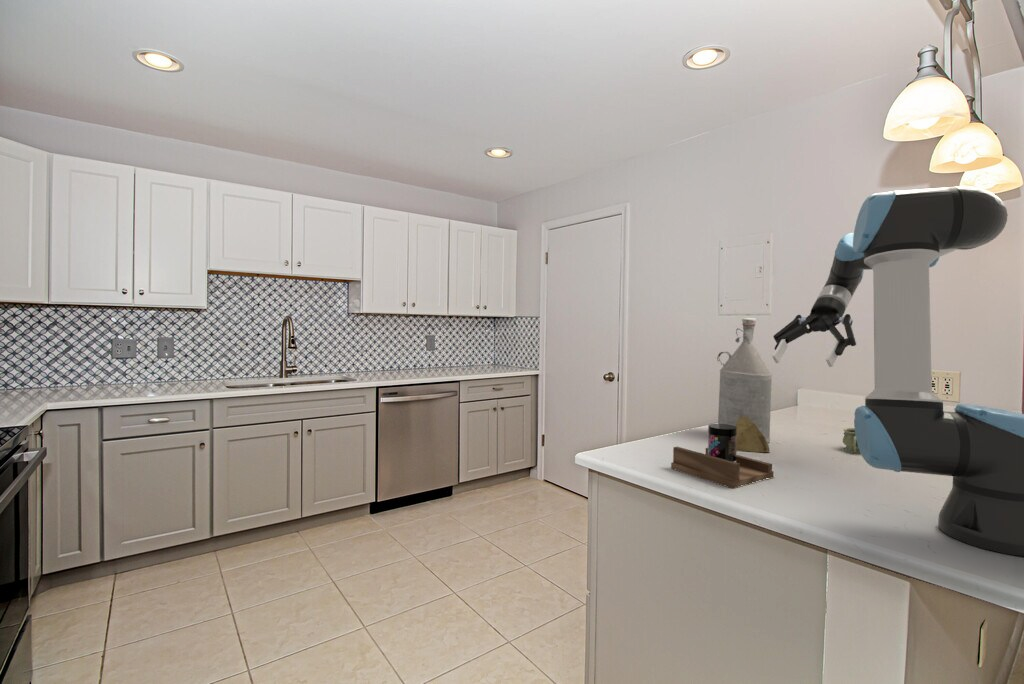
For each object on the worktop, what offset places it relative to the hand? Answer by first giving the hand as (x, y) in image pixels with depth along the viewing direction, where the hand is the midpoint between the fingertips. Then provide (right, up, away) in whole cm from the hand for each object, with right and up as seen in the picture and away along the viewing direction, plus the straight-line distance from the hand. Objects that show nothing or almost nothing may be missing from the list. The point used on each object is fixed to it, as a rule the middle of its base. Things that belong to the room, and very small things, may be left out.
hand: (800, 361), depth 130 cm
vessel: (+28, -28, +17) cm, 43 cm away
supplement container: (-23, -27, -4) cm, 35 cm away
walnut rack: (-23, -28, -4) cm, 36 cm away
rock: (-5, -28, +18) cm, 33 cm away
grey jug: (0, -27, +33) cm, 42 cm away
